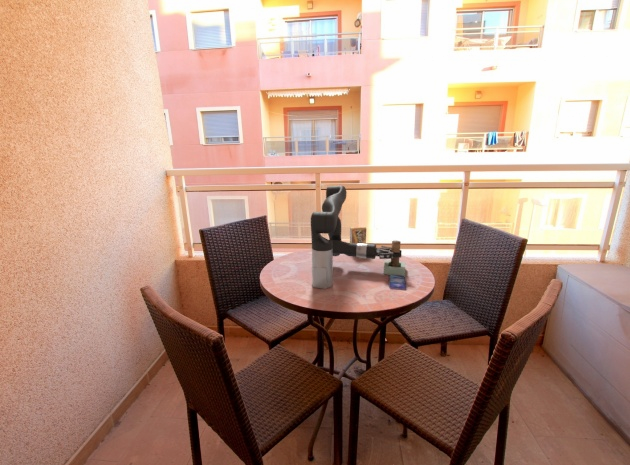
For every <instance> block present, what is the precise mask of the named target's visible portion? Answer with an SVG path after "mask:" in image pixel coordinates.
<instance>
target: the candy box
mask: <svg viewBox="0 0 630 465" xmlns="http://www.w3.org/2000/svg"><path fill="white" fill-rule="evenodd" d="M349 229H350V230H349V243H366V242H367V227H366V226H352V227H351V226H350V227H349ZM366 244H367V243H366Z"/></svg>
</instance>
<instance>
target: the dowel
mask: <svg viewBox="0 0 630 465" xmlns="http://www.w3.org/2000/svg"><path fill="white" fill-rule="evenodd" d="M391 247H392V251H391V252H393V253H394V252H396V253H400V250H401V241H400V240H391ZM390 261H391V267H399V262H400V258H399V257H393V258H392V259H390Z"/></svg>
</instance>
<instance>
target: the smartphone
mask: <svg viewBox="0 0 630 465" xmlns="http://www.w3.org/2000/svg"><path fill="white" fill-rule="evenodd" d="M388 275H389V274H388ZM388 278H389V280H388V282H389V283H388V288H389V289H390V290H398V291H399V290H400V291H406V290H407V281H406V275H405V276H401V275H392V274H391V275H389V276H388Z"/></svg>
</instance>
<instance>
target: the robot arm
mask: <svg viewBox="0 0 630 465" xmlns="http://www.w3.org/2000/svg"><path fill="white" fill-rule="evenodd" d="M347 194H348V192H347V189H346V187H345V186H344V185H341V184H339V185H329V186H327V187H326V190H325V200H324V201H323V203H322V205H321V211H313V212H312V213H311V216H310V234H311V274H312V275H311V278H312V279H311V281H312V288H314V289H315V288H316V289H324V290H326V289H328V288H330V287H332V286H333V282H334V281H333V279H334V278H333V277H334V276H333V275H334V273H333V272H334V271H333V270H334V269H333V268H334V262H333V261H334V260H333V258H334V257H339V256H340V255H345V256H347V257H351V258H352V257H353V258H360V259H370V260H375V259H376V257H378V258H379V259H380V260H391V259H392V258H393V257H399V259H401V258H402V253H403V252H402V250H401V249H400V253H396V252H394V253H393V252H391V251H392V246H391V247H390V246H385V245H381V246H380V247H377V244H375V243H350V242H348V241H342V221H341V220H342V219H341V218H340V217H339V215H340V213H341V211H342V210H341V209H342V207H343V204H344V203H345V201H346V199H347ZM322 234H326V235H328V238H329V239H328V238H326V237H325V236H323V235H322Z"/></svg>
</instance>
